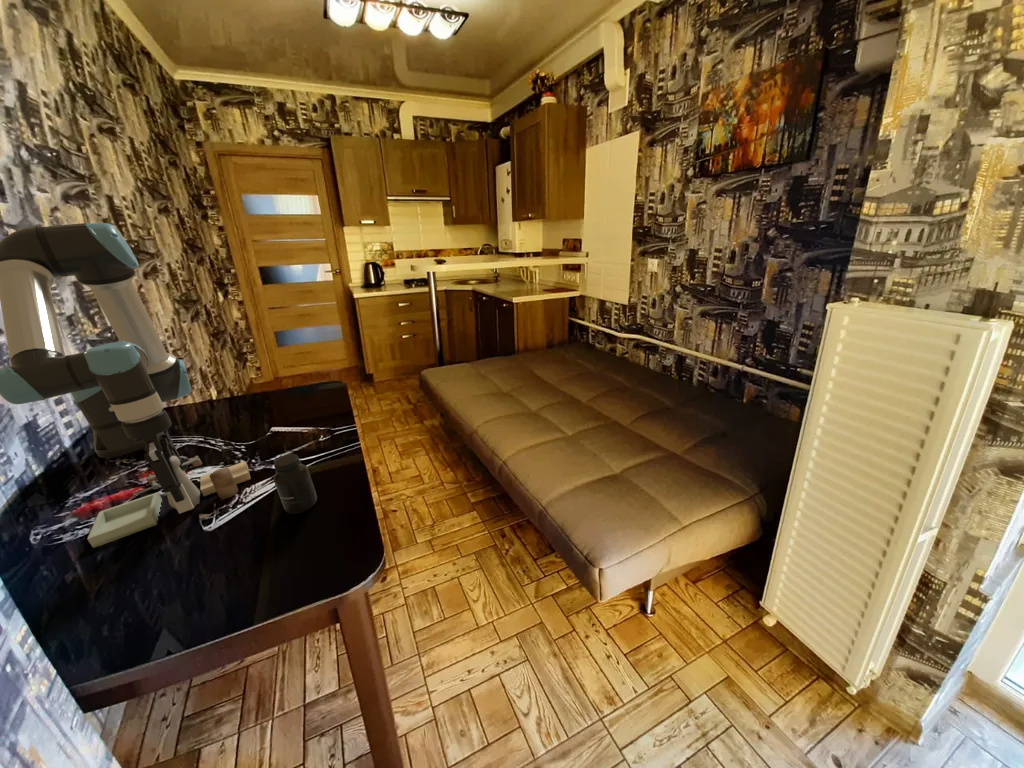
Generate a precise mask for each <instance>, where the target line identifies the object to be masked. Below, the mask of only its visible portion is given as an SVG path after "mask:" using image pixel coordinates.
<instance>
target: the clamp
mask: <svg viewBox="0 0 1024 768" xmlns="http://www.w3.org/2000/svg"><path fill="white" fill-rule="evenodd" d="M190 464H191V465H190ZM202 464H203V462H202V460H201V459H200V456H199V455H195V456H194V457H190V458H189V460H187V461H185V462H184V461H183V464H182V466H183V465H187V466H188V467H189V468H190V469H188V468H187V469H188V470H191V469H192V468H195V467H196V468H197V467H198V466H201V465H202ZM189 465H190V466H189ZM187 469H184V470H182V471H185V472H186V471H188V470H187ZM147 482H148V483H149V485H151V487H148V488H146V489H143V490H141V491H138V492H132V496H133V497H135V498H136V497H137V496H139V495H141V494H143V493H146V492H148V491H151V490H155V491H156V489H157V490H158V489H160V487H161V486H160V484H159V482H158V480H157V478H156V476H155V474H148V476H147Z"/></svg>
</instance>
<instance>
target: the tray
mask: <svg viewBox="0 0 1024 768" xmlns="http://www.w3.org/2000/svg"><path fill="white" fill-rule="evenodd" d="M162 500H163V498H162V497H161V494H160V493H159V492H158V491H157V492H155V493H151V494H148V495H145V496H142V497H140V498H136V499H134V500H130V501H127V502H125V503H122V504H119V505H116V506H113V507H110V508H107V509H103V510H101V511H99V512H98V514H97V516H96V517H95V518H96V519H95V521H94V523H93V526H92V527H91V530H90V532H89V534H88V536H87V541H88V543H89V544H90V545H91V547H92V548H93V549H95V548H98V547H101V546H103V545H105V544H108V543H111V542H114V541H117V540H119V539H122V538H124V537H127V536H130V535H133V534H136V533H138V532H141V531H143V530H147V529H148V528H152V527H155V526H157V525H158V522H157V521H159V518H158V516H159V517H160V514H159V512H160V513H161V509H160V507H161V508H162V505H161V502H162V503H163V501H162Z"/></svg>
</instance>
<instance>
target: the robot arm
mask: <svg viewBox="0 0 1024 768" xmlns="http://www.w3.org/2000/svg"><path fill="white" fill-rule="evenodd" d="M139 266H140V264H139V262H138V259H137V257H136V255H135V254H134V253H133V251H132V249H131V247H130V245H129V244H128V242H127V241H126V239H125V238H124V236H123V235H122V233H121V232H120V231H119V230H118V229H117V228H116V226H114V225H112V224H111V223H107V222H95V223H92V222H91V223H90V222H85V223H84V222H83V223H72V224H71V223H70V224H61V225H47V226H29V227H24V228H21V229H18V230H16V231H14V232H11V233H9V234H8V235H7V236H4V238H2V239H1V240H0V307H1V312H2V319H3V324H4V331H5V335H6V336H5V337H6V343H7V348H8V356H9V360H10V364H11V365H10V366H9V365H8V366H5V367H3V368H2V367H1V368H0V396H1V397H2V398H3V399H4V400H5V401H6V402H8V403H9V404H12V405H23V404H29V403H33V402H39V401H45V400H47V399H51V398H55V397H59V396H64V395H67V394H71V395H72V397H73V398H74V402H75V404H76V405H77V406H78V408H79V410H80V411H81V414H82V415H83V416H84V418H85V420H86V422H87V424H89V426H90V428H91V431H92V432H93V433H92V435H93V446H94V452H95V453H96V455H97V456H98V457H99V458H100V459H110V458H116V457H117V458H118V457H121V456H124V455H129V454H131V453H134V452H137V451H140V450H142V449H143V450H144V452H145V453H144V454H143V456H144V459H145V460H146V461H147V462H148V464H149V466H150V468H151V469H152V472H153V473H154V474H155V476H156V479H157V480H158V482H157V483H158V484H160V486H159V487H160V488H161V490H160V491H161V493H162V494H167V492H168V493H169V495H170V497H171V499H172V501H173V503H174V505H175V507H176V509H175V510H177V512H178V515H179V514H182V513H185V512H188V511H192V510H193V509H195V507H194V506H193V504H192V502H191V500H190V498H189V496H188V494H187V492H186V490H185V488H184V486H183V484H181V483H180V482H179V479H178V477H177V474H176V472H175V470H174V467H173V465H172V462H171V460H170V457H171V456H176V457H178V458H179V460H180V465H179V467H180V469H181V470H184V469H187V468H188V467H189V466H188V465H183V466H182V464H183V463H184V461H183V459H182V458H181V456H180V453H179V452H178V450H177V448H176V445H175V444H174V442H173V440H172V438H171V436H170V433H169V431H168V429H170V427H171V426H172V423H173V422H172V421H171V418H170V416H169V413H167V410H165V409H164V408H165V404H164V403H166V402H170V401H173V400H178V399H180V398H183V397H187V396H189V395H190V394H191V392H192V387H191V383H190V379H189V375H188V371H187V368H186V364H185V361H184V360H183V359H177V357H176V356H175V355H174V354H172V353H169V352H167V351H166V348H165V346H164V344H163V342H162V340H161V338H160V336H159V334H158V332H157V330H156V327H155V326H154V323H153V321H152V319H151V318H150V316H149V314H148V311H147V309H146V307H145V306H144V303H143V301H142V298H141V297H140V295H139V293H138V291H137V288H136V287H135V284H134V283H133V282H134V281H133V280H134V278H135V277H136V275H137V273H136V271H135V270H137V268H139ZM73 276H74V277H75V278H76V280H77V283H78V284H80V285H83V286H85V287H86V288H87V287H88V288H89V289H90V291H91V292H92V294H93V295H94V298H95V299H96V301H97V302H98V303H97V304H99V305H98V306H100V308H101V310H102V312H103V314H104V316H105V317H106V319H107V321H108V322H109V325H110V326H111V328H112V330H113V332H114V333H115V336H116V338H117V339H118V341H113V342H108V343H104V344H100V345H95V346H93V347H91V348H88V349H86V350H85V351H84V352H79V353H74V354H68V355H66V353H65V349H64V345H63V341H62V336H61V332H60V328H59V322H58V319H57V314H56V311H55V310H56V309H55V306H54V301H53V298H52V293H51V289H50V288H51V287H52V286H53V285H54V282H55V278H62V277H63V278H65V277H73ZM183 472H184V474H185V475H186V476H187V477H188V475H187V473H186V471H183ZM154 474H153V475H154Z"/></svg>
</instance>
